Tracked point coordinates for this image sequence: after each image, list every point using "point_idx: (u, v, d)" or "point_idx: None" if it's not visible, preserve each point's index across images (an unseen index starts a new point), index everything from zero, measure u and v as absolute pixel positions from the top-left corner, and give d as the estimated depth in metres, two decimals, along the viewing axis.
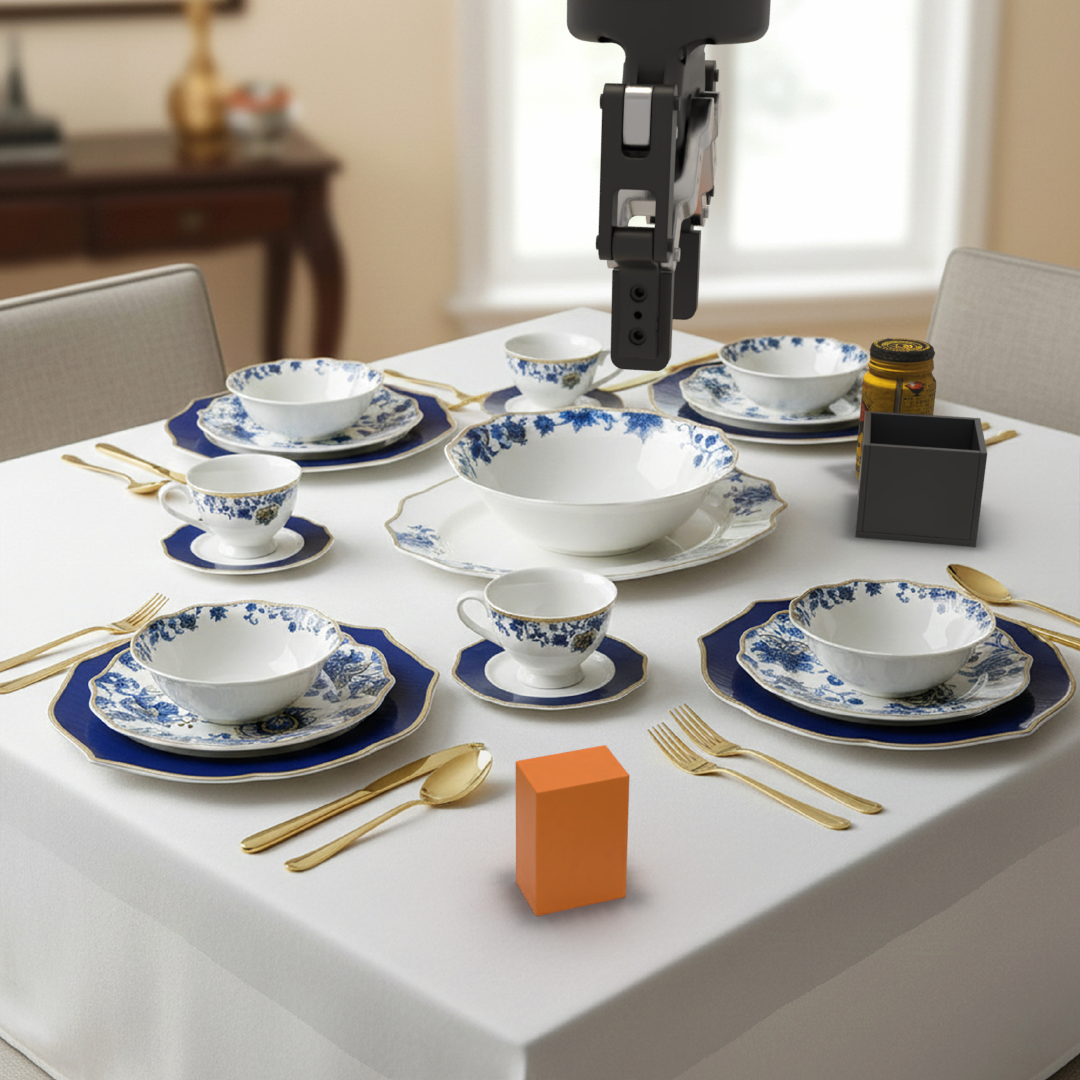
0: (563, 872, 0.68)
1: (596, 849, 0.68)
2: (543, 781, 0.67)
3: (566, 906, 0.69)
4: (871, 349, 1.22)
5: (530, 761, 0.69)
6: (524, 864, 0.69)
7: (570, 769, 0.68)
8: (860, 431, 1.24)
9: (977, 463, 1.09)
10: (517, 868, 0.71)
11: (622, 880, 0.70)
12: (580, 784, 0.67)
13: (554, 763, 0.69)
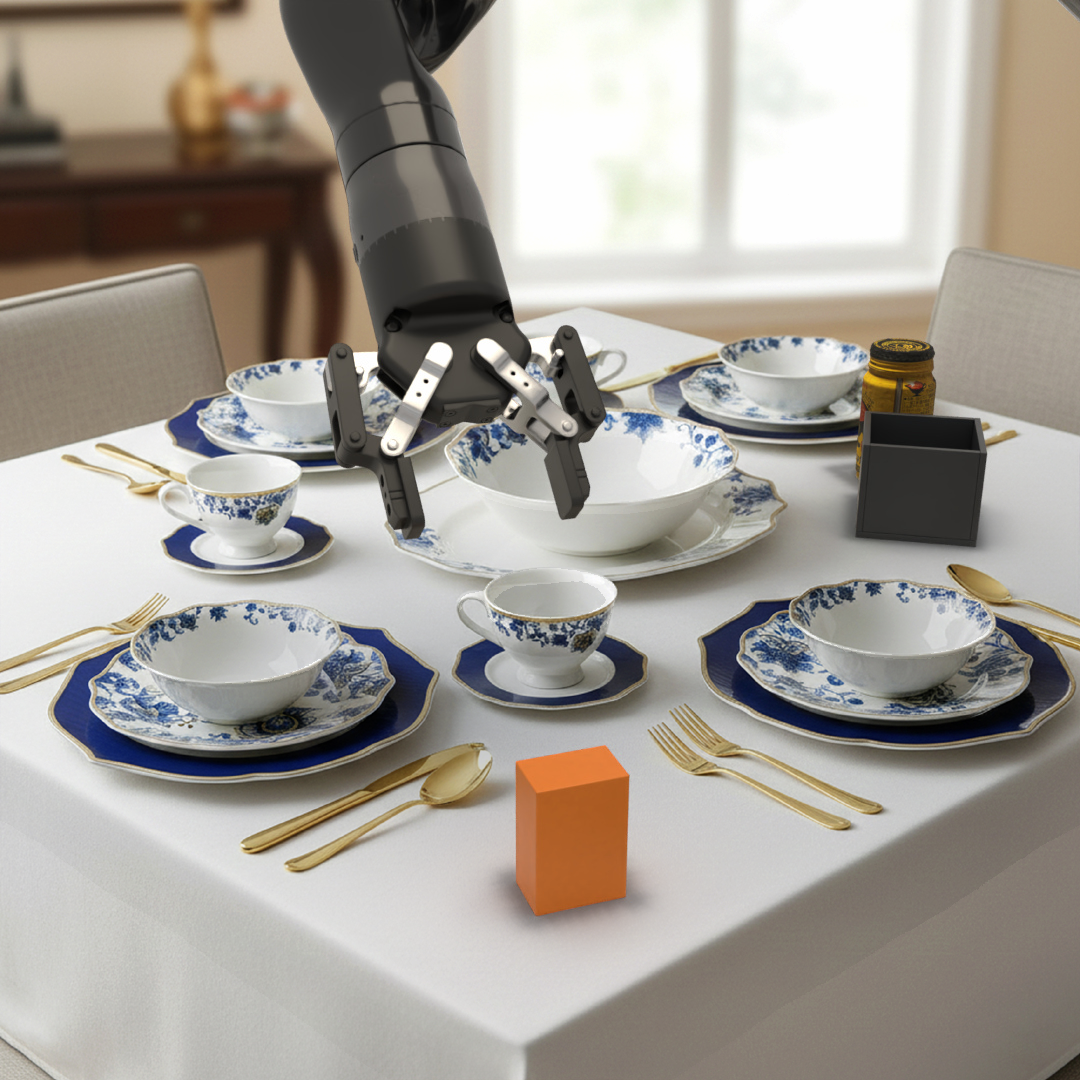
0: (563, 872, 0.68)
1: (596, 849, 0.68)
2: (543, 781, 0.67)
3: (566, 906, 0.69)
4: (871, 349, 1.22)
5: (530, 761, 0.69)
6: (524, 864, 0.69)
7: (570, 769, 0.68)
8: (860, 431, 1.24)
9: (977, 463, 1.09)
10: (517, 868, 0.71)
11: (622, 880, 0.70)
12: (580, 784, 0.67)
13: (554, 763, 0.69)
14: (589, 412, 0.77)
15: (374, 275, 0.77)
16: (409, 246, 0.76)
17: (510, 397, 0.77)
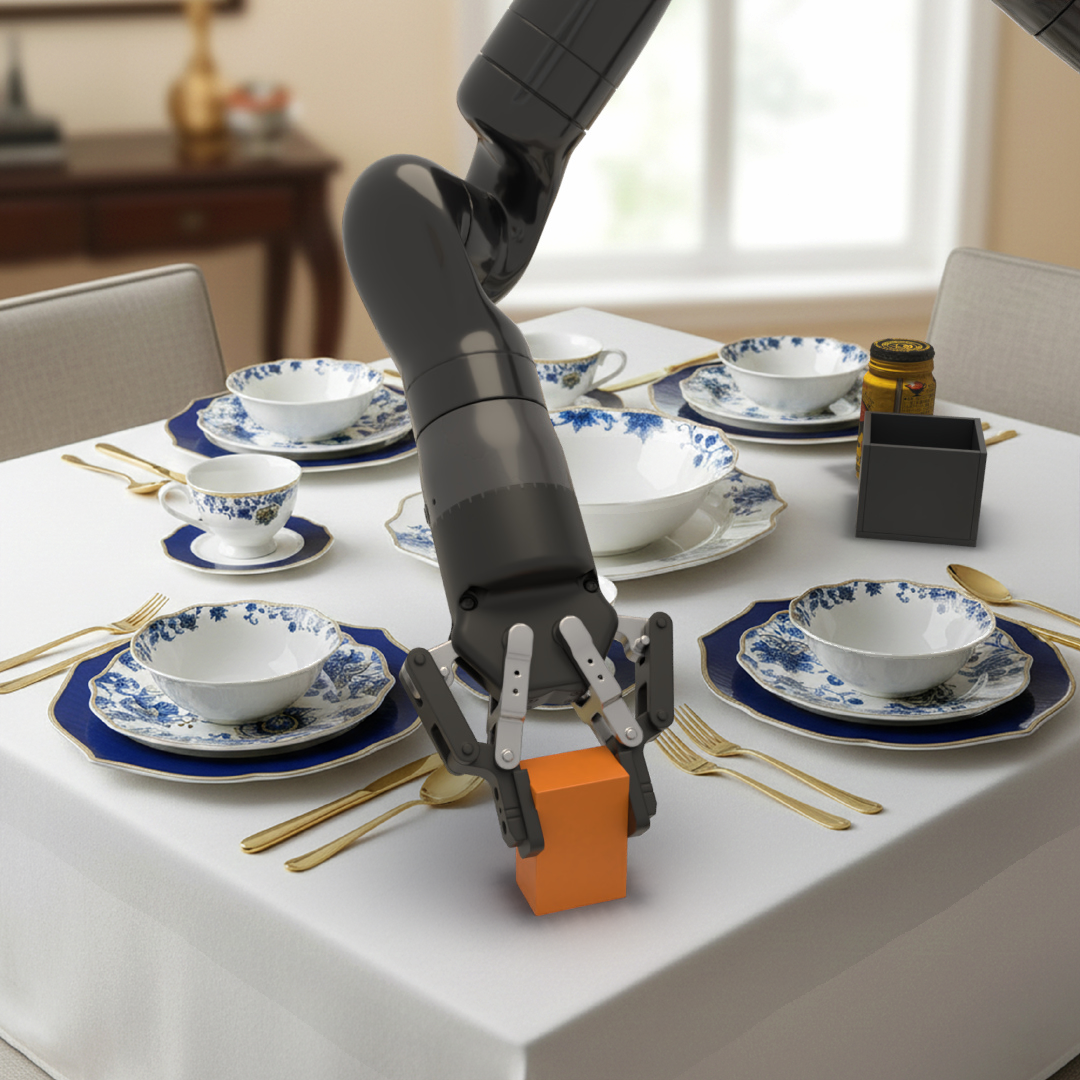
0: (563, 872, 0.68)
1: (596, 849, 0.68)
2: (543, 781, 0.67)
3: (566, 906, 0.69)
4: (871, 349, 1.22)
5: (530, 761, 0.69)
6: (524, 864, 0.69)
7: (570, 769, 0.68)
8: (860, 431, 1.24)
9: (977, 463, 1.09)
10: (517, 868, 0.71)
11: (622, 880, 0.70)
12: (580, 784, 0.67)
13: (554, 763, 0.68)
14: (655, 715, 0.70)
15: (447, 545, 0.71)
16: (485, 518, 0.70)
17: None
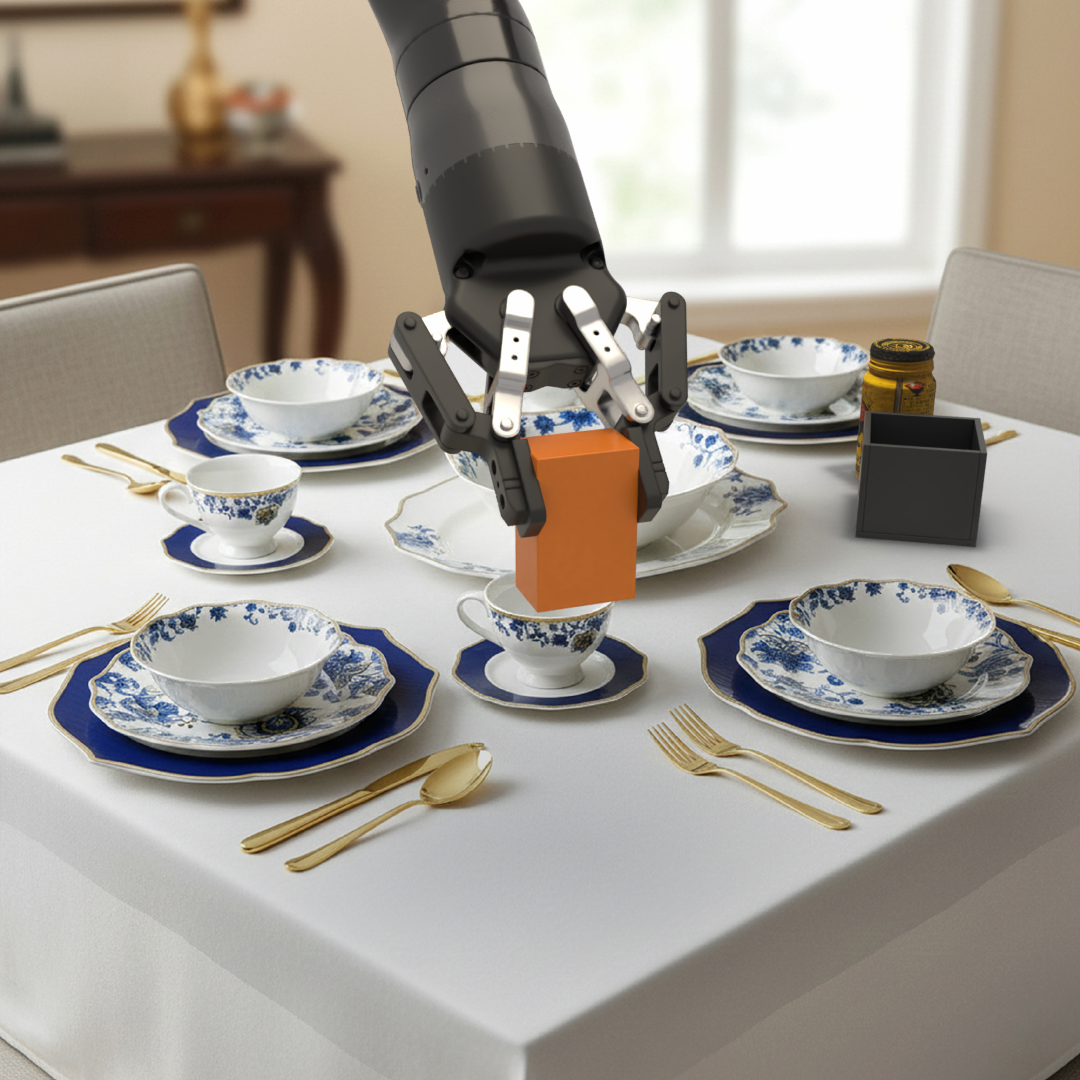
0: (567, 557, 0.62)
1: (603, 532, 0.63)
2: (545, 451, 0.61)
3: (570, 598, 0.63)
4: (871, 349, 1.22)
5: (531, 438, 0.63)
6: (524, 554, 0.64)
7: (575, 443, 0.62)
8: (860, 431, 1.24)
9: (977, 463, 1.09)
10: (517, 564, 0.65)
11: (631, 573, 0.64)
12: (585, 454, 0.61)
13: (557, 439, 0.63)
14: (667, 393, 0.64)
15: (441, 213, 0.65)
16: (482, 177, 0.64)
17: None
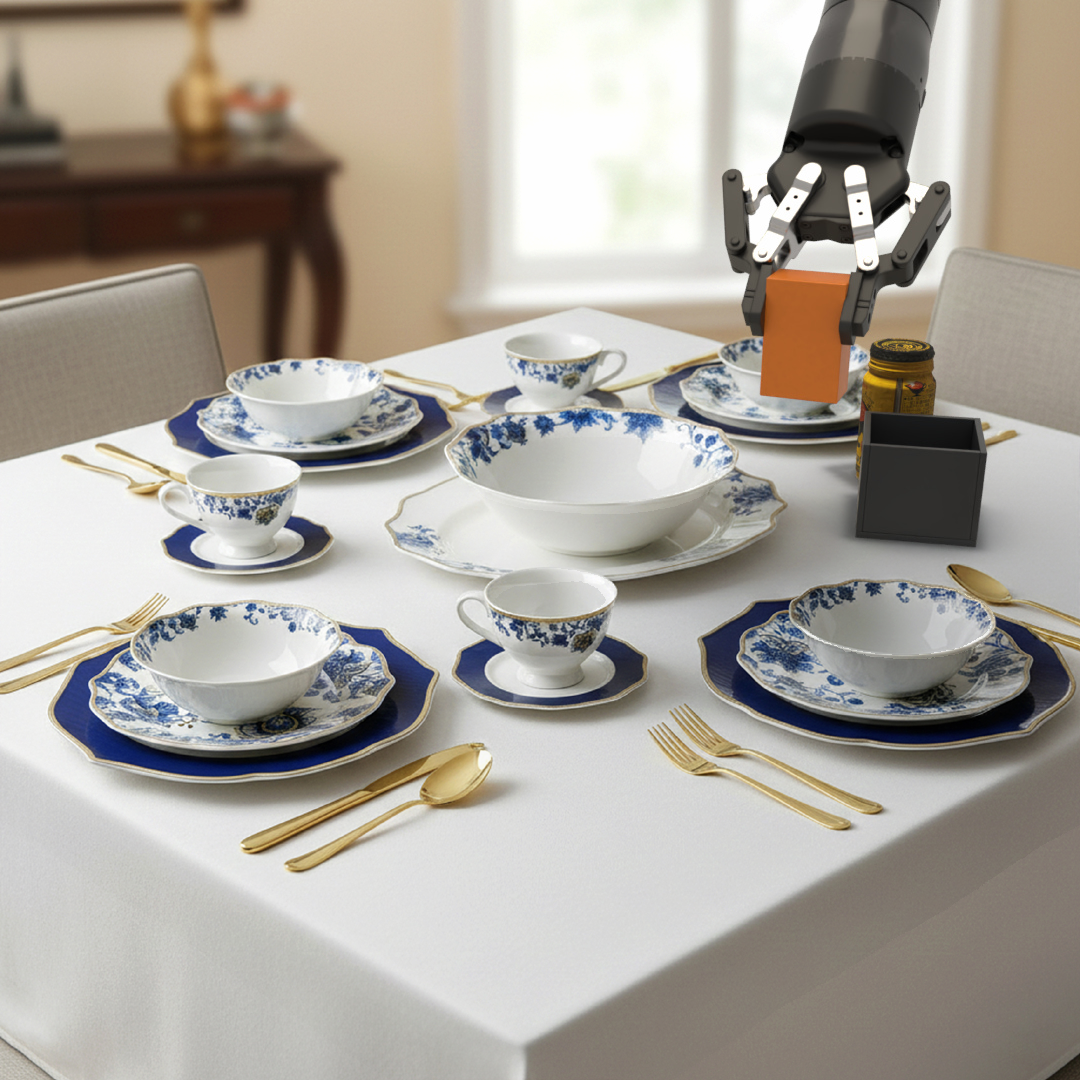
0: (784, 358, 0.85)
1: (813, 345, 0.84)
2: (780, 276, 0.84)
3: (785, 390, 0.86)
4: (871, 349, 1.22)
5: (788, 269, 0.86)
6: None
7: (809, 276, 0.84)
8: (860, 431, 1.24)
9: (977, 463, 1.09)
10: None
11: (834, 382, 0.84)
12: (803, 281, 0.83)
13: (803, 273, 0.85)
14: (896, 253, 0.83)
15: (793, 106, 0.89)
16: (817, 79, 0.87)
17: None
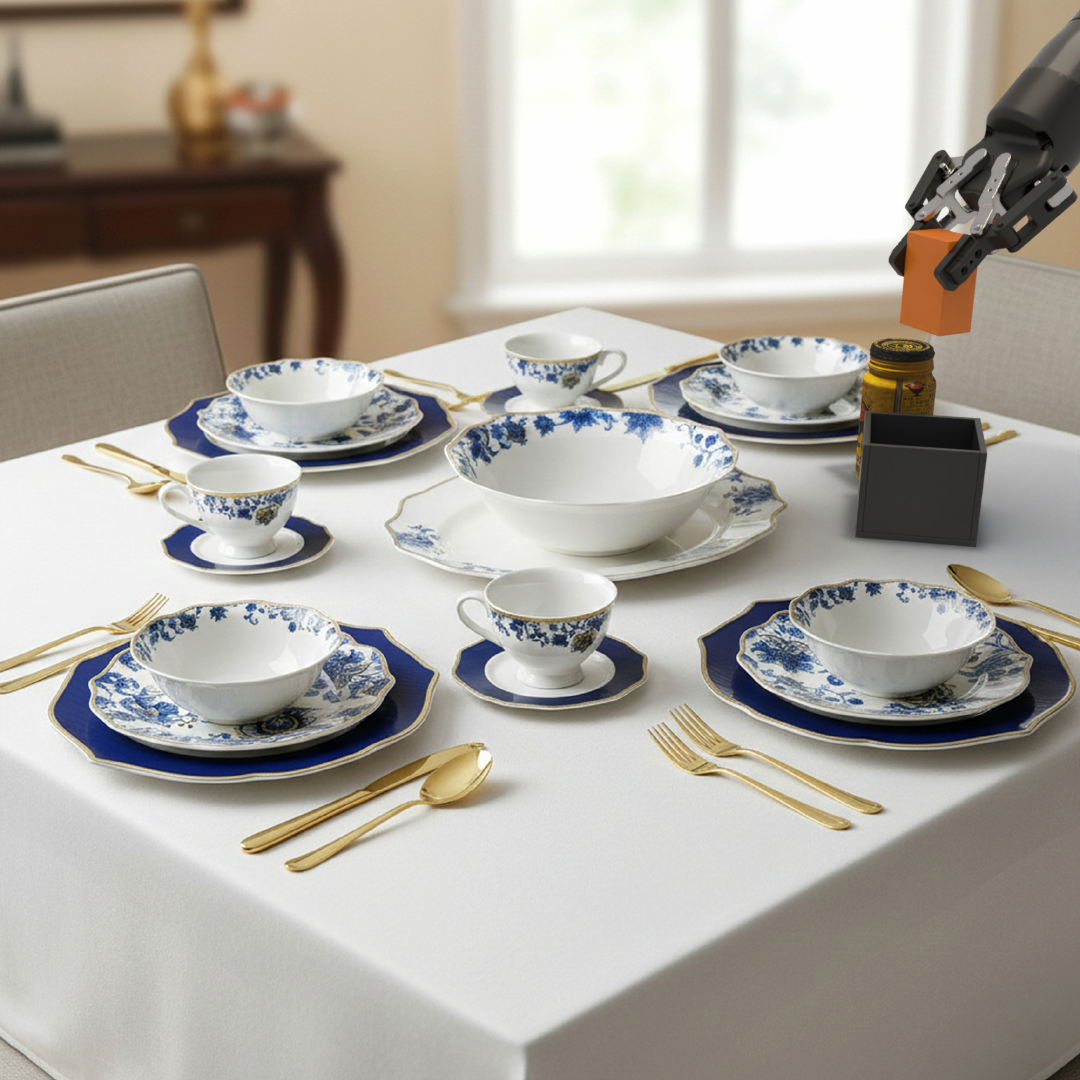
0: (913, 295, 1.10)
1: (929, 287, 1.08)
2: (921, 231, 1.09)
3: (912, 321, 1.10)
4: (871, 349, 1.22)
5: (942, 229, 1.10)
6: None
7: (941, 234, 1.08)
8: (860, 431, 1.24)
9: (977, 463, 1.09)
10: None
11: (938, 319, 1.08)
12: (926, 236, 1.07)
13: (944, 232, 1.09)
14: (997, 222, 1.04)
15: None
16: (1013, 83, 1.08)
17: (999, 196, 1.06)
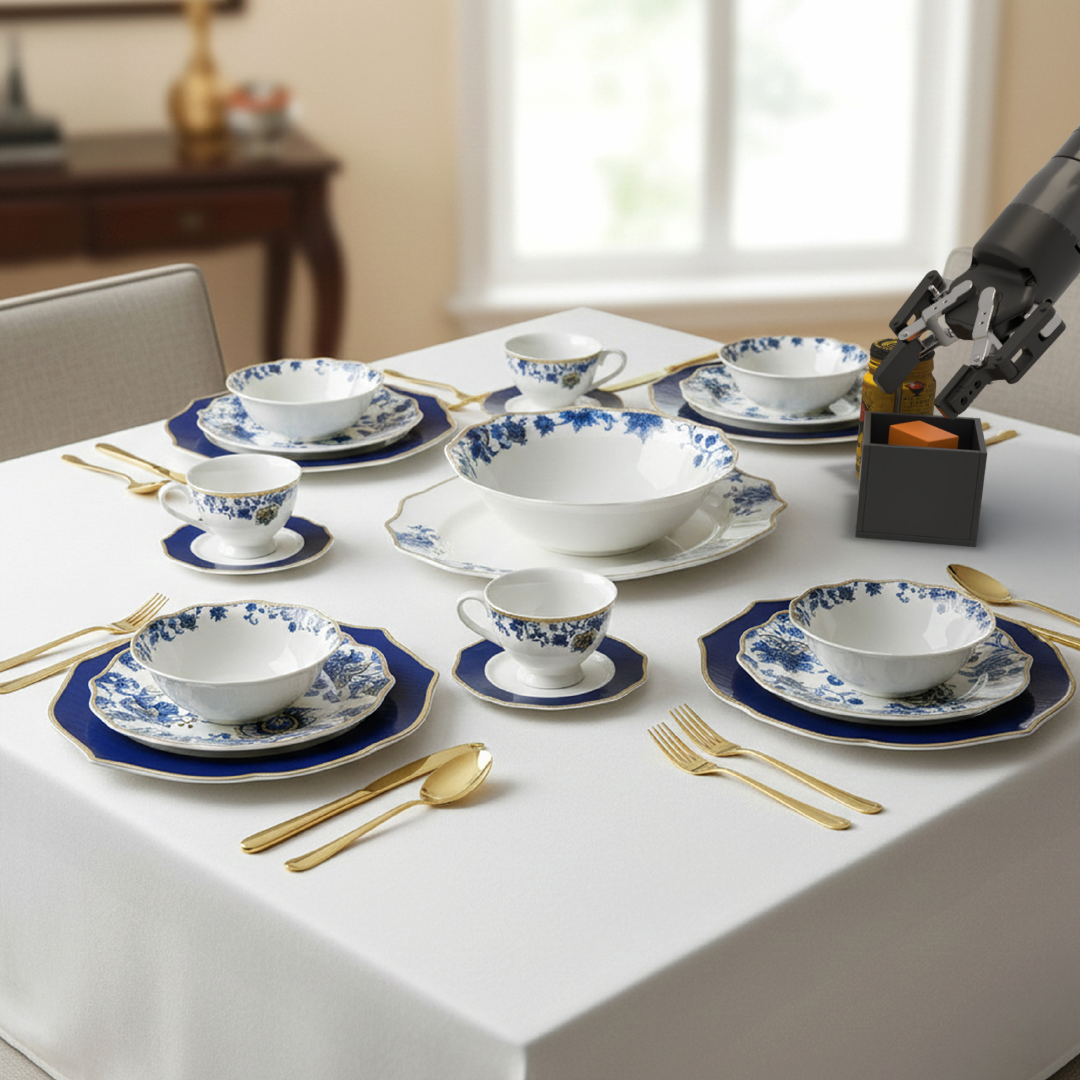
0: None
1: None
2: (902, 425, 1.15)
3: None
4: (871, 349, 1.22)
5: (922, 422, 1.15)
6: None
7: (921, 430, 1.14)
8: (860, 431, 1.24)
9: (977, 463, 1.09)
10: None
11: None
12: (907, 432, 1.13)
13: (924, 427, 1.14)
14: (996, 356, 1.06)
15: None
16: None
17: None
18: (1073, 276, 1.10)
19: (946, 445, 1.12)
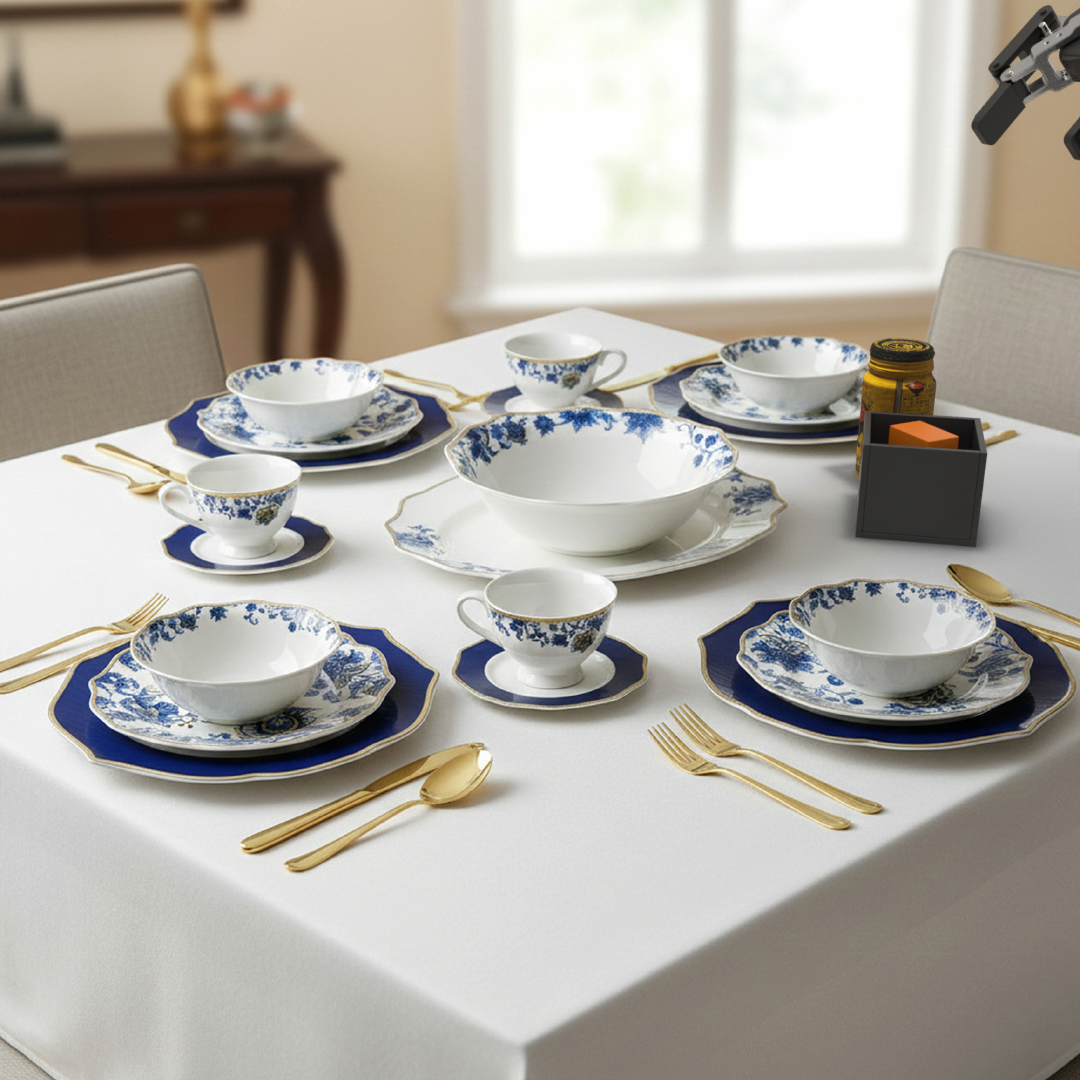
0: None
1: None
2: (903, 426, 1.15)
3: None
4: (871, 349, 1.22)
5: (922, 422, 1.15)
6: None
7: (922, 430, 1.14)
8: (860, 431, 1.24)
9: (977, 463, 1.09)
10: None
11: None
12: (907, 432, 1.13)
13: (925, 427, 1.14)
14: None
15: None
16: None
17: None
18: None
19: (946, 445, 1.12)
